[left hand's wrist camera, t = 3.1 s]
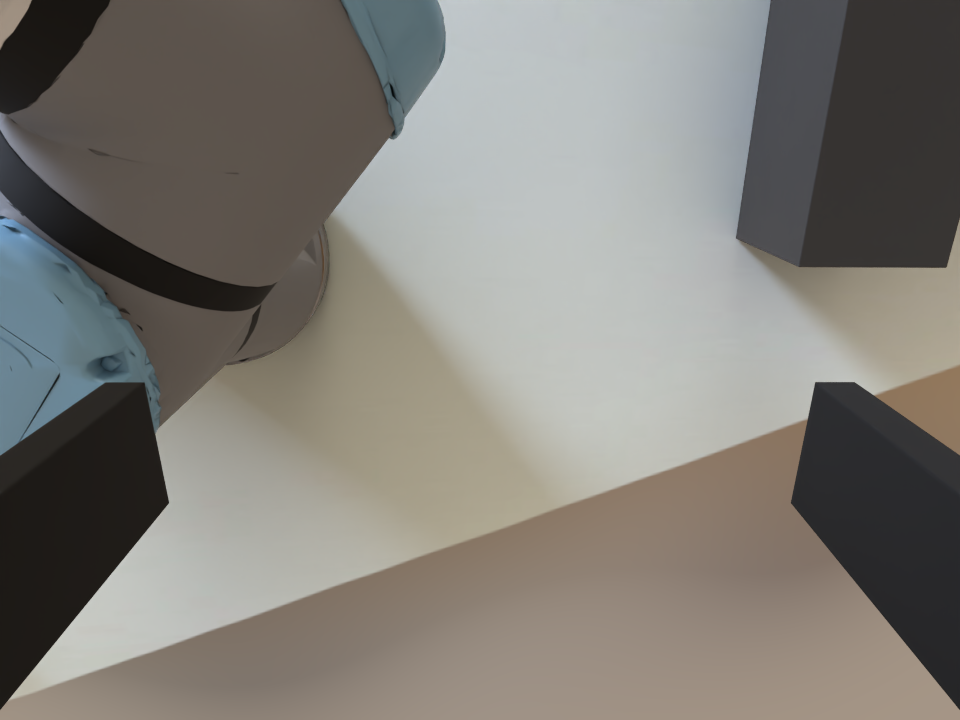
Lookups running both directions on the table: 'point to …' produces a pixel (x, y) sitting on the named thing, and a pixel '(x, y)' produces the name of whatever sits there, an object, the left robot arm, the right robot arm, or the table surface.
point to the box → (856, 134)
